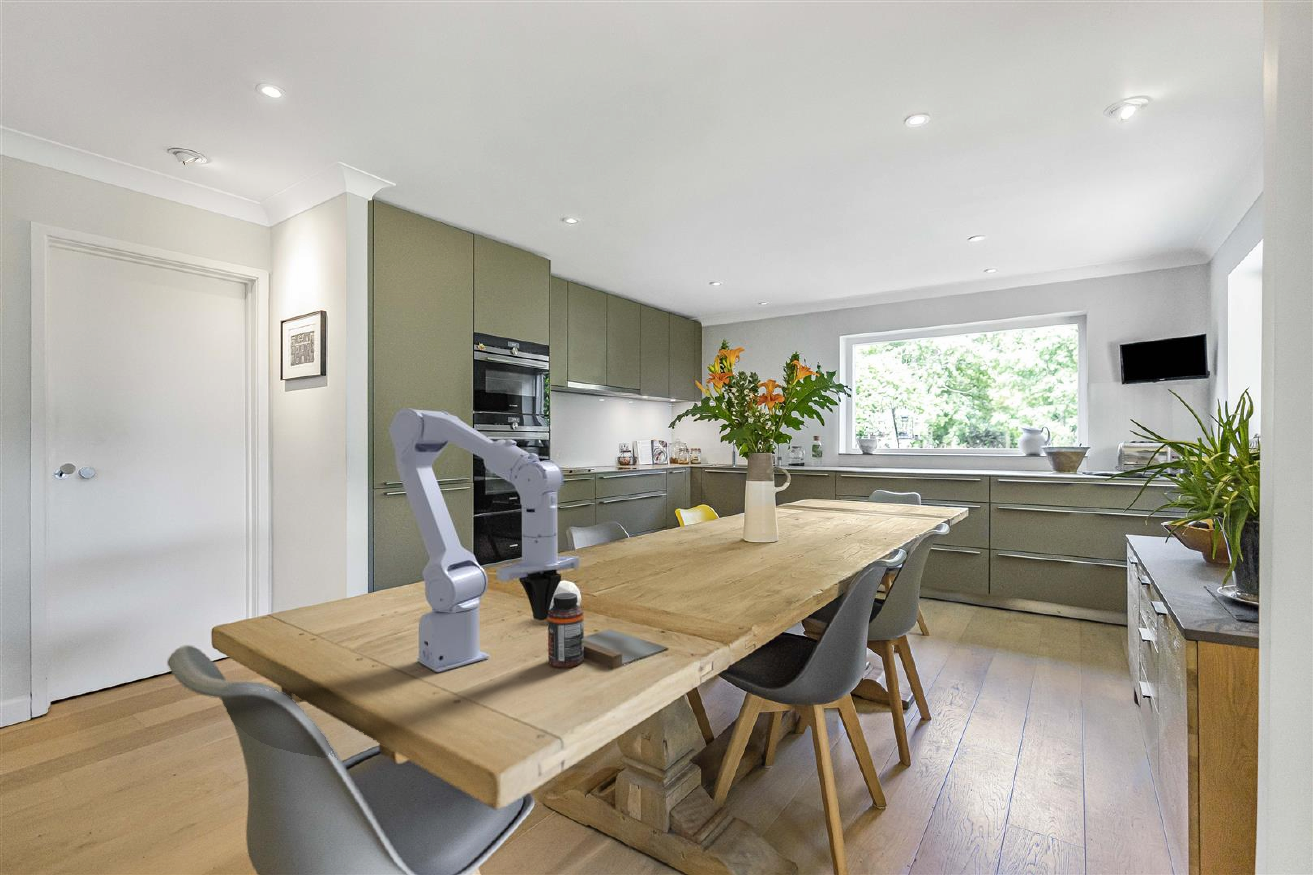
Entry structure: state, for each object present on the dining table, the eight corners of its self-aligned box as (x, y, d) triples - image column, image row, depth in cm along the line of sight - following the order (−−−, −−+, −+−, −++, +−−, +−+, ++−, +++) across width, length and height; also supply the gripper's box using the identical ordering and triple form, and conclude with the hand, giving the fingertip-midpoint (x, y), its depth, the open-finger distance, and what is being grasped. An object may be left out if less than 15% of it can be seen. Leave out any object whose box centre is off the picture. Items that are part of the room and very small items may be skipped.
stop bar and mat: (612, 668, 97) (612, 656, 97) (555, 646, 109) (555, 635, 109) (668, 649, 106) (668, 638, 106) (610, 630, 118) (610, 620, 118)
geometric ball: (566, 632, 126) (561, 608, 121) (540, 613, 130) (534, 589, 125) (590, 608, 131) (586, 584, 126) (564, 591, 135) (560, 567, 130)
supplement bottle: (545, 659, 102) (544, 592, 102) (579, 654, 104) (578, 589, 104) (551, 671, 97) (551, 601, 97) (587, 665, 99) (586, 597, 99)
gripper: (513, 542, 89) (514, 633, 89) (590, 532, 99) (590, 614, 99) (490, 538, 94) (490, 624, 94) (565, 528, 104) (565, 606, 104)
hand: (540, 618), depth 97 cm, fingers closed
